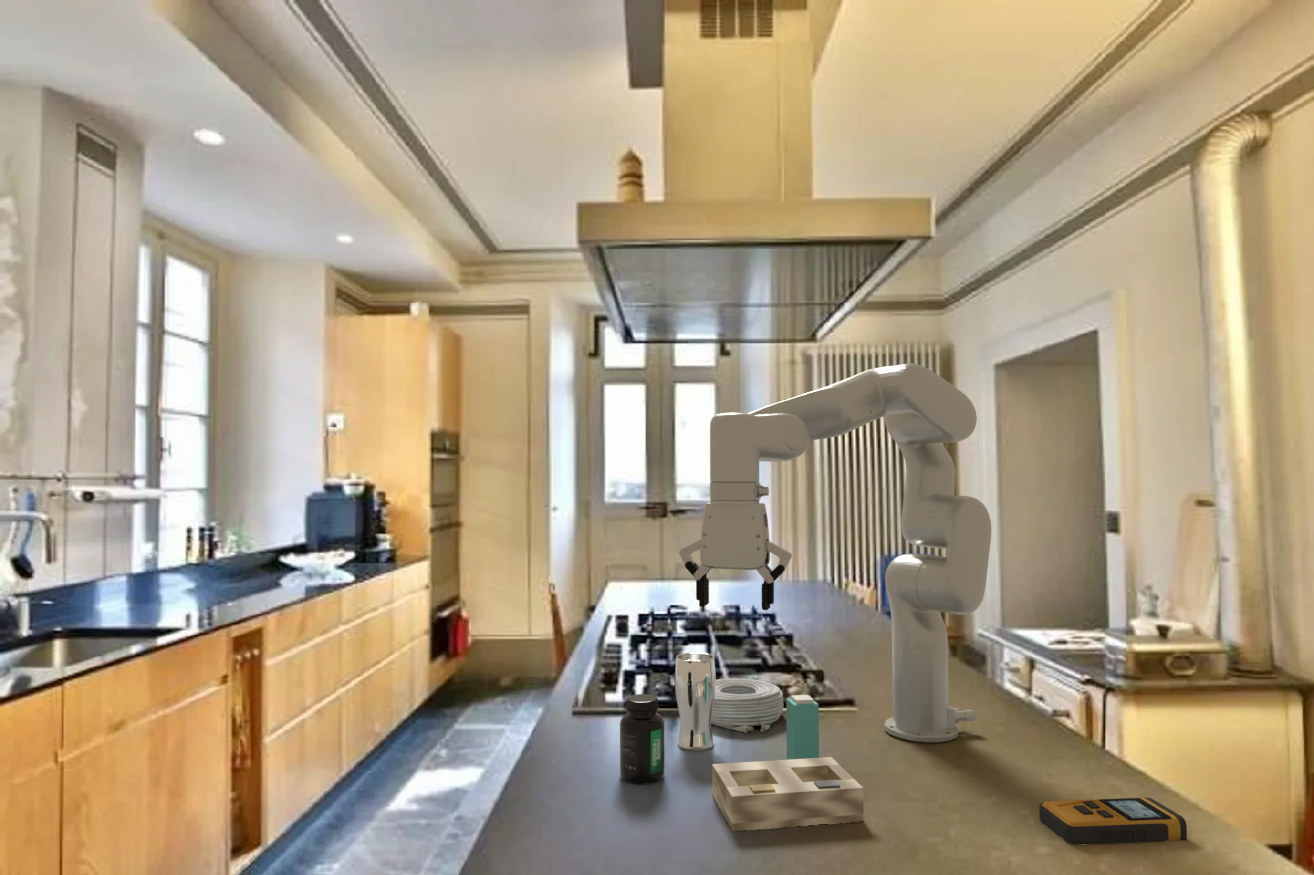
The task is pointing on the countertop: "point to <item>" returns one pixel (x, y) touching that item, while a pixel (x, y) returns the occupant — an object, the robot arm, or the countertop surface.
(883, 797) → the countertop surface
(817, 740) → the plug
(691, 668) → the beer glass
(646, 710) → the supplement bottle
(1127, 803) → the electronic device
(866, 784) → the countertop surface
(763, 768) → the socket block
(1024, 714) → the countertop surface
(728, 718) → the cable
